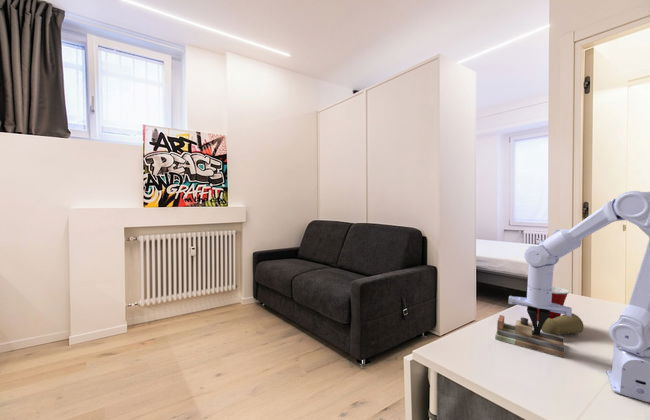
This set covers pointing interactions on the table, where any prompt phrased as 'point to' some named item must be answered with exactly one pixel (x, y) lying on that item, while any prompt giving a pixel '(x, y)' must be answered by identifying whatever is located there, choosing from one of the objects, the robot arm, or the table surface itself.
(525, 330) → the slider
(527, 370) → the table surface
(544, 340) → the track
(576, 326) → the brown rounded lump
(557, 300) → the plastic cup
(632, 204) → the robot arm
